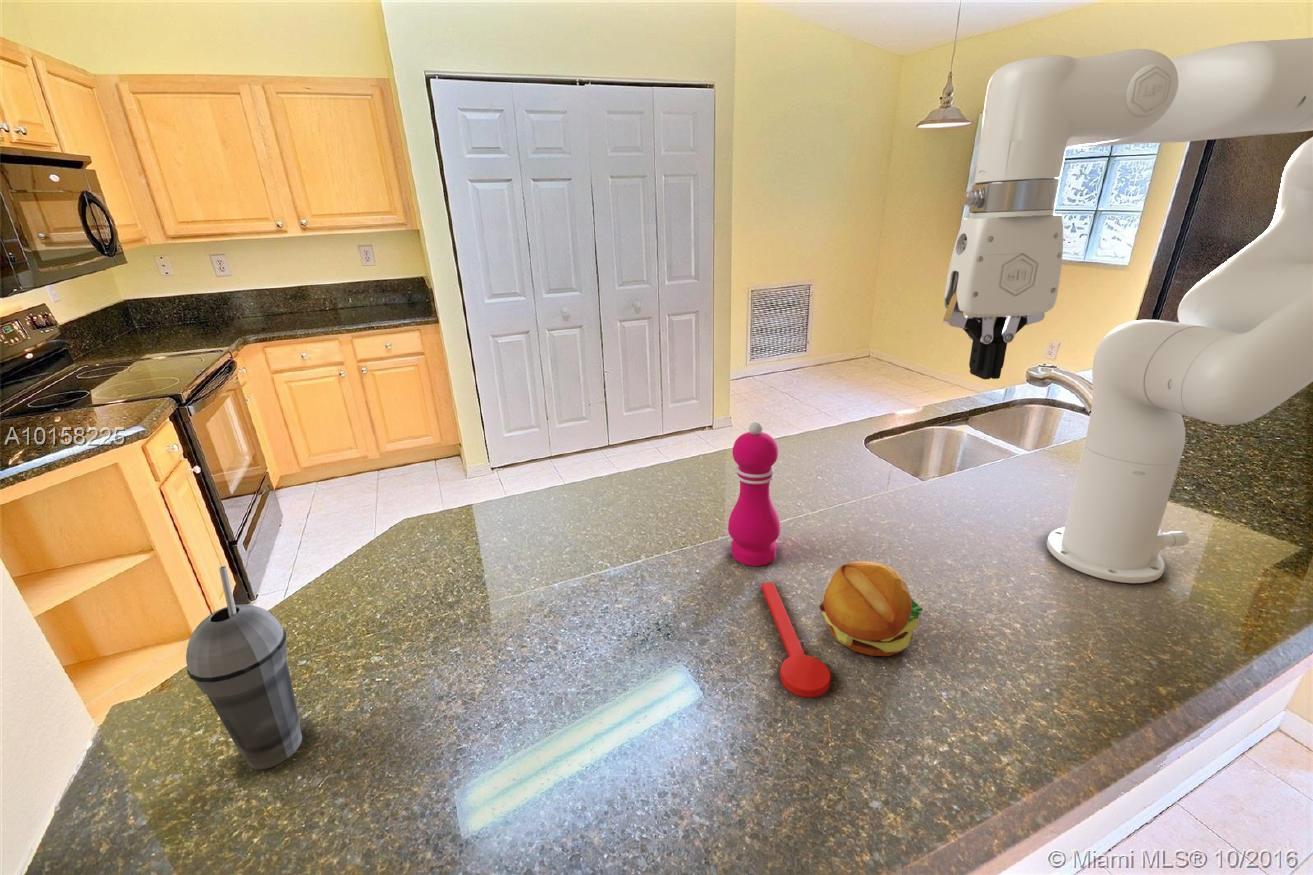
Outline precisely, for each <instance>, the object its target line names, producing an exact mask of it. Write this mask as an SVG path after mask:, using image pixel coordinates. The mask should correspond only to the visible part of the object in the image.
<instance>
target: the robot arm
mask: <svg viewBox="0 0 1313 875" xmlns="http://www.w3.org/2000/svg"><path fill="white" fill-rule="evenodd" d="M1310 131H1313V37H1305V38H1287V39H1271V40H1270V39H1269V40H1251V41H1250V40H1249V41H1240V42H1234V43H1230V44H1229V43H1228V44H1225V45H1220V46H1214V47H1211V48H1207V49H1206V48H1205V49H1202V50H1197V51H1194V52H1190V53H1186V54H1183V55H1181V56H1176V57H1173V58H1170V57H1168V56H1166V55H1165V54H1163V53H1162V52H1159V51H1157V50H1153V49H1146V48H1133V49H1126V50H1120V51H1115V52H1110V53H1105V54H1100V55H1091V56H1085V57H1073V56H1068V55H1064V54H1053V55H1051V54H1050V55H1041V56H1034V57H1027V58H1023V59H1019V60H1015V61H1011V62H1009V63H1006V64H1004V65H1003V66H1000V67H999V68H998V69H997V70H995V71H994V73H993V74H992V75H991V77H990V79H989V81H988V83H987V89H986V94H985V100H984V109H983V116H982V124H981V131H980V136H979V137H980V138H979V146H978V152H977V159H976V167H975V174H974V181H973V184H972V186H971V189H970V191H963V192H962V194H961V196H960V205H961V206H964V207H966V206H967V207H968V212H969V215H968V216H969V217H964V218H963V219H962V222H961V225H960V227H959V230H958V233H957V236H956V239H955V243H954V246H953V249H952V254H951V258H950V261H949V266H948V271H947V275H946V282H945V289H944V307H945V309H946V311H945V313H944V316H943V319H942V322H943V324H944V325H947V326H950V327H953V328H958V329H962V330H963V331H964V332H965V333H966V334H967V337H968V339H970V340H972V343H971V350H970V355H969V356H970V357H969V361H968V362H969V363H968V365H969V366H968V367H969V374H970V375H972V376H975V377H977V378H979V379H981V380H990V379H992V380H998V379H1000V378H1001V374H1002V369H1003V367H1004V364H1005V358H1006V353H1007V346H1008V344H1010V343H1012V342H1013V341H1014V340H1015V336H1016V335H1017V333H1018V332H1020V331H1021V330H1022V329H1023V328H1024V327H1025V326H1030V325H1032V324H1036V323H1039V322H1041V321H1044V319H1045V316H1046V314H1045V313H1047V312H1050V311H1051V310H1052V309H1054V307H1055V305H1056V302H1057V298H1058V293H1059V289H1060V288H1059V287H1060V281H1061V274H1062V265H1063V254H1064V223H1063V222H1064V221H1063V215H1062V213H1058V214H1057V213H1055V210H1056V205H1057V201H1058V195H1059V189H1060V183H1061V179H1062V178H1061V177H1062V173H1063V168H1064V163H1065V157H1066V151H1067V150H1075V149H1089V148H1100V147H1101V148H1102V147H1109V146H1110V147H1111V146H1112V147H1113V146H1122V145H1134V144H1135V145H1136V144H1137V145H1139V144H1175V143H1188V142H1198V141H1207V140H1218V139H1219V140H1220V139H1231V138H1241V137H1251V136H1252V137H1253V136H1265V135H1277V134H1278V135H1279V134H1293V133H1302V132H1310ZM1275 208H1276V209H1275V211H1274V215H1273V219H1272V221H1271V223H1270V225H1269V226H1268V227H1267V229H1266V230H1265V231H1264V232H1263V233H1262V234H1260V235H1259V236H1258V237H1257V238H1256V239H1254V240H1253V241H1251V243H1249V244H1248V245H1246V246H1245V247H1244V248H1242V249H1241V250H1239V251H1238V252H1237V253H1236V254H1234V255H1233V256H1231V257H1230V258H1228V259H1227V261H1225V262H1224V263H1222V264H1220V265H1219V266H1218V267H1216V268H1215V269H1214V270H1213V271H1211V272H1210V273H1209V274H1207V275H1206V276H1205V277H1203V278H1202V279H1201V280H1200V281H1198V282H1197V283H1196V284H1194V286H1192V288H1191V289H1189V290H1188V292H1186V294H1185V295H1184V296H1183V298H1182V299H1181V301H1180V302H1179V305H1178V307H1177V313H1176V314H1177V320H1178V322H1177V321H1170V320H1163V319H1139V320H1133V321H1129V322H1125V323H1123V324H1120V325H1119V326H1116V327H1115V328H1114V329H1112V330H1110V331H1109V332H1108V333H1107V334H1106V335H1105V336H1104V337H1103V338H1102V339H1101V341H1099V343H1098V345H1097V347H1096V350H1095V351H1094V355H1093V360H1092V367H1091V368H1092V369H1091V370H1092V371H1091V372H1092V373H1091V377H1092V380H1091V382H1092V384H1091V385H1092V400H1091V409H1090V410H1091V411H1090V416H1089V420H1088V421H1089V422H1088V425H1087V431H1086V435H1085V439H1084V443H1083V446H1082V451H1081V455H1080V460H1079V463H1078V468H1077V472H1076V476H1075V481H1074V484H1073V490H1072V493H1071V498H1070V502H1069V506H1068V510H1067V514H1066V519H1065V523H1064V526H1063V527H1061V528H1057V529H1054V530H1052V531H1051V532H1050V533H1049V534H1048V536H1047V540H1046V548H1047V550H1048V551H1049V552H1050V553H1051V555H1052V556H1053V557H1054V558H1055V559H1057V560H1058V561H1059V562H1060V563H1062V564H1064V565H1065V566H1067V567H1068V568H1071V569H1073V570H1075V571H1078V572H1080V573H1083V574H1085V575H1087V576H1090V577H1094V578H1098V579H1100V580H1105V581H1110V582H1117V583H1124V584H1125V583H1126V584H1145V583H1151V582H1154V581H1156V580H1158V579H1160V578H1161V577H1162V575H1163V573H1164V572H1165V567H1166V564H1165V561H1164V559H1163V558H1162V557H1161V555H1160V554H1159V553H1160V550H1161V551H1162V550H1164V549H1166V548H1167V547H1169V548H1170V547H1171V548H1172V547H1183V546H1187V545H1188V544H1189V540H1190V539H1189V536H1188V535H1187V533H1185V532H1184V531H1181V530H1176V531H1175V530H1174V531H1166V532H1162V529H1161V525H1162V522H1163V518H1164V515H1165V512H1166V509H1167V505H1168V502H1169V498H1170V495H1171V492H1172V489H1173V485H1174V482H1175V479H1176V476H1177V472H1178V469H1179V465H1180V461H1181V460H1182V456H1183V454H1184V449H1185V445H1186V428H1185V427H1186V426H1185V421H1184V417H1183V416H1186V417H1189V418H1192V419H1195V420H1198V421H1203V422H1206V423H1210V424H1215V425H1219V426H1237V425H1243V424H1246V423H1249V422H1252V421H1255V420H1257V419H1259V418H1261V417H1262V416H1264V415H1266V414H1269V413H1270V412H1271V411H1273V410H1274V409H1276V408H1277V407H1278V406H1280V405H1282V404H1283V403H1284V402H1286V401H1287V400H1289V399H1290V398H1292V397H1293V396H1295V395H1296V394H1297V393H1299V392H1300V391H1301V390H1303V389H1305V388H1306V387H1307V386H1309V385H1310V384H1312V383H1313V136H1312V137H1310V138H1308V139H1307V140H1306V141H1304V142H1303V143H1302V144H1301V145H1300V146H1299V147H1298V148H1297V149H1296V150H1295V151H1294V152H1293V154H1292V155H1291V157H1290V158H1289V160H1288V161H1287V163H1286V165H1285V167H1284V170H1283V172H1282V177H1281V183H1280V187H1279V192H1278V198H1277V204H1276V207H1275ZM964 314H965V315H966V316H965V315H964Z"/></svg>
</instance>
